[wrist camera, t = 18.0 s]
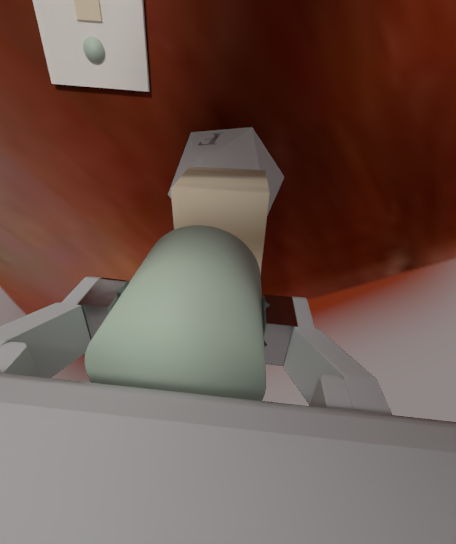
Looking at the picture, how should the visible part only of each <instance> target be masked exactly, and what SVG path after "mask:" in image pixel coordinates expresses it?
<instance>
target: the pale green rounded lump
mask: <svg viewBox="0 0 456 544" xmlns="http://www.w3.org/2000/svg"><path fill="white" fill-rule="evenodd" d="M85 368H86V372H87V375H88V377H89V379H90V381H91V383H99V384H108V385H118V386H127V387H136V388H145V389H155V390H164V391H173V392H183V393H192V394H201V395H210V396H219V397H228V398H238V399H247V400H256V401H262V399H263V397H264V394H265V389H266V372H265V351H264V331H263V312H262V292H261V275H260V268H259V265H258V262H257V260H256V258H255V256H254V254H253V253H252V251H251V250H250V249H249V248H248V246H247V245H246V244H245V243H244V242H242V241H241V240H240V239H239V238H237V237H236V236H234V235H233V234H231V233H229V232H227V231H225V230H222V229H219V228H216V227H211V226H204V225H192V226H185V227H181V228H178V229H175V230H173V231H171V232H169V233H167V234H166V235H164V236H163V237H162V238H160V239H159V240H158V241H157V242H156V244H155V245H154V246H153V248H152V249H151V251H150V252H149V254H148V255H147V257H146V258H145V260H144V261H143V263H142V264H141V266H140V267H139V269H138V270H137V272H136V273H135V275H134V276H133V278H132V279H131V281H130V282H129V284H128V285H127V287H126V288H125V290H124V291H123V293H122V294H121V296H120V297H119V299H118V300H117V302H116V303H115V305H114V306H113V308H112V309H111V311H110V312H109V314H108V315H107V317H106V318H105V320H104V321H103V323H102V324H101V326H100V327H99V329H98V330H97V332H96V333H95V335H94V336H93V338H92V340H91V341H90V343H89V345H88V347H87V350H86V353H85Z"/></svg>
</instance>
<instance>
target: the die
mask: <svg viewBox="0 0 456 544" xmlns="http://www.w3.org/2000/svg"><path fill="white" fill-rule="evenodd" d="M189 166H190V167H210V168H231V169H251V170H266V176H267V182H268V187H269V193H270V195H269V204H268V213H269V211H270V209H271V206H272V204H273V202H274V200H275V197H276V195H277V193H278V191H279V188H280V186H281V184H282V182H283V180H284V175H283V174H282V172H281V171H280V169H279V168H278V166H277V165H276V163H275V161H274V160H273V158H272V157H271V155H270V154H269V152H268V151H267V149H266V148H265V146H264V145H263V143H262V141H261V140H260V138H259V137H258V135H257V134H256V132H255V131H254V129H253V128H252V127H247V128H236V129H224V130H212V131H200V132H191V133H190V136H189V139H188V142H187V144H186V147H185V150H184V152H183V155H182V158H181V160H180V163H179V166H178V168H177V171H176V174H175V177H174V179H173V182H172V185H171V187H170V190H169V193H168V195H169V196H170V197H171V188H172V186H173V185H174V184H175V183H176V182H177V180H178V179H179V178H180V177H181V176H182V175H183V173H184V172H185V171H186V170H187V169H188V167H189ZM171 199H172V198H171ZM268 213H267V215H268Z"/></svg>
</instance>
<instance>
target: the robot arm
mask: <svg viewBox="0 0 456 544" xmlns="http://www.w3.org/2000/svg"><path fill="white" fill-rule="evenodd" d="M128 284H129V281H126V280H118V279H110V278H100V277H91V276H88V277H85V278H84V279H83V280H82V281H81V282H80V283H79V284H78V285H77V286H76V287H75V289H74V290H73V291H72V292H71V293H70V294H69V295H68V296H67V297H66V298H65V299H64V300H63V301H62V302H61V303H55V304H52V305H50V306H47V307H45V308H43V309H40V310H38V311H36V312H33V313H31V314H29V315H26V316H24V317H22V318H19V319H17V320H14V321H12V322H10V323H7V324H5V325H3V326H1V327H0V544H456V422H450V421H440V420H432V419H422V418H413V417H404V416H394V415H392V413H391V411H390V408H389V406H388V404H387V402H386V399H385V397H384V395H383V392H382V391H381V388H380V386H379V383H378V381H377V379H376V378H375V377H374V376H372V375H371V374H370V373H369V372H368V371H367V370H366V369H364V368H363V367H362V366H361V365H360V364H359V363H358V362H356V361H355V360H354V359H353V358H352V357H351V356H349V355H348V354H347V353H346V352H345V351H344V350H343V349H341V348H340V347H339V346H338V345H337V344H335V342H333V341H332V340H331V339H330V338H329V337H328V336H326V335H325V334H324V333H323V332H322V331H321V330H319V329H315V326H314V322H313V319H312V315H311V312H310V308H309V305H308V301H307V299H306V298H305V297H286V296H275V295H264V294H263V298H262V312H263V331H264V351H265V364H271V365H279V366H283V368H284V369H285V371H286V372H287V373H288V375H289V376H290V378H291V379H292V381H293V382H294V383H295V385H296V386H297V388H298V389H299V391H300V392H301V393H302V395H303V396H304V398H305V399H306V401H307V402H308V404H309V406H302V405H293V404H282V403H274V402H265V401H256V400H247V399H238V398H228V397H219V396H210V395H201V394H192V393H183V392H173V391H164V390H155V389H145V388H136V387H127V386H118V385H108V384H99V383H90V382H80V381H71V380H62V379H53V378H51V377H53V376H54V375H56V374H57V373H58V372H59V371H61V370H62V369H64V368H65V367H66V366H68V365H69V364H71V363H72V362H73V361H75V360H76V359H77V358H79V357H80V356H82V355H83V354H84V353H86V350H87V347H88V345H89V343H90V341H91V340H92V338H93V336H94V335H95V333H96V332H97V330H98V329H99V327H100V326H101V324H102V323H103V321H104V320H105V318H106V317H107V315H108V314H109V312H110V311H111V309H112V308H113V306H114V305H115V303H116V302H117V300H118V299H119V297H120V296H121V294H122V293H123V291H124V290H125V288H126V287H127V285H128Z"/></svg>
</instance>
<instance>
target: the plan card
mask: <svg viewBox="0 0 456 544" xmlns="http://www.w3.org/2000/svg"><path fill="white" fill-rule="evenodd" d="M33 4H34V9H35V13H36V17H37V22H38V26H39V30H40V35H41V39H42V44H43V48H44V52H45V57H46V61H47V65H48V70H49V74H50V78H51V83H52V84H60V85H72V86H84V87H96V88H108V89H121V90H133V91H145V92H150V86H149V72H148V57H147V43H146V29H145V15H144V1H143V0H33Z"/></svg>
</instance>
